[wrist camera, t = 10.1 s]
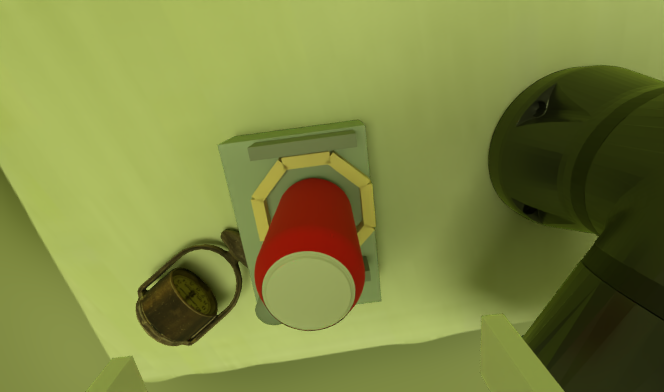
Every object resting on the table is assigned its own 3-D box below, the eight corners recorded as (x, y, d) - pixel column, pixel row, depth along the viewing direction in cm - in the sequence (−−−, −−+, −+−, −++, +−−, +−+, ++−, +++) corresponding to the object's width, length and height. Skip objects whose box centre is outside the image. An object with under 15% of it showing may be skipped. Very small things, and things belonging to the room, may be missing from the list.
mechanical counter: (95, 277, 28) (136, 374, 29) (216, 240, 26) (256, 346, 27) (151, 252, 36) (183, 330, 36) (250, 220, 33) (281, 305, 34)
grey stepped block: (358, 119, 29) (369, 128, 22) (373, 272, 35) (386, 319, 28) (234, 136, 30) (206, 150, 23) (268, 285, 35) (254, 335, 28)
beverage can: (319, 159, 26) (314, 215, 14) (365, 212, 27) (393, 301, 16) (265, 204, 27) (220, 289, 15) (312, 252, 28) (303, 362, 17)
